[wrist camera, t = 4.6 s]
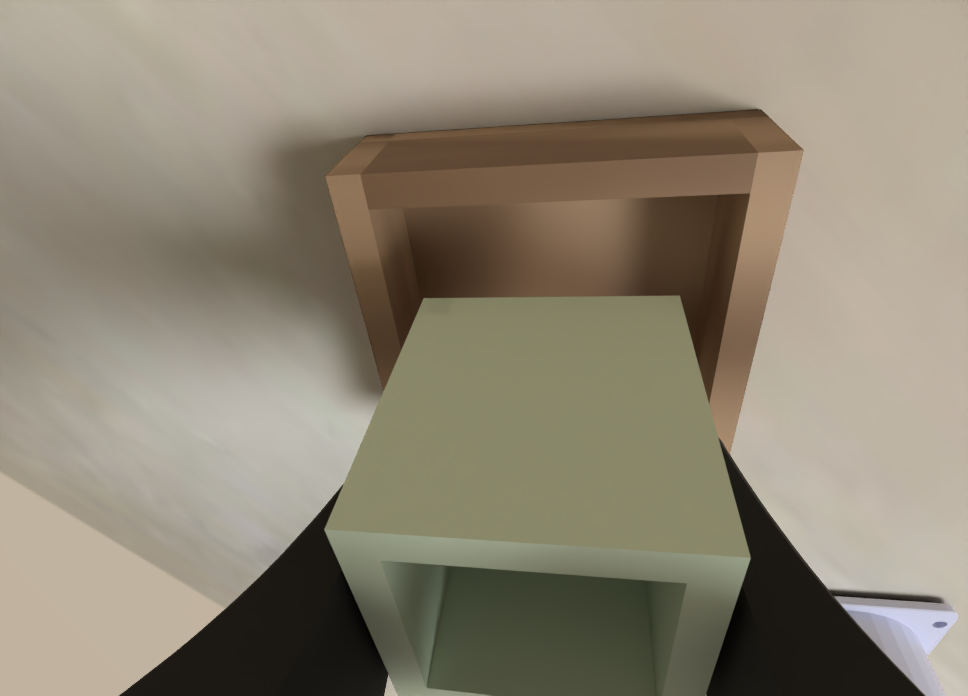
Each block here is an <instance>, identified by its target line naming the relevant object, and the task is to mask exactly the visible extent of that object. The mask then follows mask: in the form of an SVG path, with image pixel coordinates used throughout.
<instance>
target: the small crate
mask: <svg viewBox="0 0 968 696" xmlns="http://www.w3.org/2000/svg"><path fill="white" fill-rule="evenodd" d="M324 530H325V532H326V535H327V537H328V539H329V541H330V544H331V546H332V548H333V550H334V553H335V555H336V557H337V559H338V562H339V564H340V566H341V568H342V571H343V573H344V575H345V577H346V580H347V582H348V584H349V586H350V589H351V591H352V593H353V595H354V598H355V600H356V602H357V604H358V607H359V609H360V611H361V613H362V616H363V618H364V620H365V622H366V625H367V627H368V629H369V631H370V634H371V636H372V638H373V640H374V643H375V645H376V647H377V649H378V652H379V654H380V656H381V658H382V661H383V663H384V665H385V667H386V670H387V672H388V674H389V676H390V679H391V681H392V683H393V685H394V688H395V690H396V692H397V694H398V696H705V695H706V692H707V689H708V686H709V683H710V680H711V677H712V674H713V671H714V668H715V665H716V662H717V659H718V656H719V653H720V650H721V647H722V644H723V641H724V638H725V635H726V632H727V629H728V626H729V623H730V620H731V616H732V613H733V610H734V607H735V604H736V601H737V598H738V595H739V592H740V589H741V586H742V583H743V580H744V577H745V574H746V571H747V568H748V565H749V562H750V559H751V557H750V553H749V549H748V546H747V542H746V538H745V535H744V531H743V527H742V523H741V520H740V516H739V512H738V509H737V505H736V501H735V498H734V494H733V490H732V487H731V483H730V479H729V475H728V472H727V468H726V464H725V461H724V457H723V453H722V450H721V446H720V442H719V439H718V435H717V431H716V428H715V424H714V420H713V416H712V413H711V409H710V405H709V402H708V398H707V394H706V391H705V387H704V383H703V380H702V376H701V372H700V368H699V365H698V361H697V357H696V354H695V350H694V346H693V343H692V339H691V335H690V332H689V328H688V324H687V320H686V317H685V313H684V309H683V306H682V302H681V298H680V296H591V297H493V298H424V299H423V301H422V303H421V306H420V308H419V310H418V313H417V315H416V317H415V320H414V322H413V324H412V327H411V329H410V331H409V334H408V336H407V338H406V341H405V343H404V345H403V347H402V350H401V352H400V354H399V357H398V359H397V361H396V364H395V366H394V368H393V371H392V373H391V375H390V378H389V380H388V382H387V385H386V387H385V389H384V392H383V394H382V396H381V399H380V401H379V403H378V406H377V408H376V410H375V413H374V415H373V417H372V420H371V422H370V424H369V427H368V429H367V431H366V434H365V436H364V438H363V441H362V443H361V445H360V448H359V450H358V452H357V455H356V457H355V459H354V462H353V464H352V466H351V469H350V471H349V473H348V476H347V478H346V480H345V483H344V485H343V487H342V489H341V492H340V494H339V496H338V499H337V501H336V503H335V506H334V508H333V510H332V513H331V515H330V517H329V520H328V522H327V524H326V527H325V529H324Z"/></svg>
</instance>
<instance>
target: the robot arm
mask: <svg viewBox="0 0 968 696" xmlns="http://www.w3.org/2000/svg"><path fill="white" fill-rule="evenodd" d="M718 439H719V438H718ZM719 442H720V446H721V450H722V453H723V457H724V461H725V464H726V468H727V472H728V475H729V479H730V483H731V487H732V490H733V494H734V498H735V501H736V505H737V509H738V512H739V516H740V520H741V523H742V527H743V531H744V535H745V538H746V542H747V546H748V549H749V553H750V557H751V559H750V562H749V565H748V568H747V571H746V574H745V577H744V580H743V583H742V586H741V589H740V592H739V595H738V598H737V601H736V604H735V607H734V610H733V613H732V616H731V620H730V623H729V626H728V629H727V632H726V635H725V638H724V641H723V644H722V647H721V650H720V653H719V656H718V659H717V662H716V665H715V668H714V671H713V674H712V677H711V680H710V683H709V686H708V689H707V692H706V696H946V694H945V692H944V690H943V688H942V686H941V684H940V682H939V679H938V677H937V675H936V673H935V671H934V669H933V667H932V665H931V663H930V661H929V659H928V657H927V656H928V655H929V653H930V652H931V651H932V650H933V648H934V647H935V646H936V645H937V644H938V642H939V641H940V640H941V639H942V637H943V636H944V635H945V634H946V632H947V631H948V630H949V629H950V628H951V626H952V625H953V624H954V623H955V621H956V620H957V619H958V614H957V612H956V611H955V609H954V607H953V606H951V605H949V604H944V603H930V602H915V601H900V600H886V599H871V598H856V597H841V596H833V595H832V594H831V592H830V591H829V590H828V589H827V588H826V586H825V585H824V584H823V583H822V581H821V580H820V579H819V578H818V577H817V575H816V574H815V573H814V572H813V570H812V569H811V568H810V567H809V566H808V564H807V563H806V562H805V560H804V559H803V558H802V557H801V555H800V554H799V553H798V551H797V550H796V549H795V548H794V546H793V545H792V544H791V542H790V541H789V540H788V538H787V537H786V536H785V534H784V533H783V532H782V530H781V529H780V527H779V526H778V525H777V523H776V522H775V521H774V519H773V518H772V517H771V515H770V514H769V513H768V511H767V510H766V508H765V507H764V505H763V504H762V503H761V501H760V500H759V498H758V497H757V495H756V494H755V492H754V491H753V489H752V488H751V486H750V485H749V484H748V482H747V481H746V479H745V478H744V476H743V474H742V473H741V471H740V470H739V468H738V467H737V465H736V464H735V462H734V460H733V459H732V457H731V456H730V454H729V452H728V451H727V449H726V447H725V446H724V444H723V442H722V441H721V439H719ZM343 485H344V484H343ZM343 485H342V486H341V488H340V489H339V490H338V491H337V492H336V494H335V495H334V496H333V497H332V498H331V500H330V501H329V502H328V503H327V504H326V506H325V507H324V508H323V509H322V510H321V512H320V513H319V514H318V515H317V516H316V517H315V519H314V520H313V521H312V522H311V523H310V524H309V525H308V526H307V527H306V528H305V530H304V531H303V532H302V533H301V534H300V535H299V536H298V537H297V538H296V539H295V541H294V542H293V543H292V544H291V545H290V546H289V547H288V548H287V549H286V550H285V551H284V553H283V554H282V555H281V556H280V557H279V558H278V559H277V560H276V561H275V562H274V563H273V564H272V565H271V566H270V567H269V568H268V569H267V570H266V571H265V572H264V573H263V574H262V575H261V576H260V577H259V578H258V579H257V580H256V581H255V582H254V583H253V584H252V585H251V586H250V587H249V588H247V589H246V590H245V591H244V592H243V593H242V594H241V595H240V596H239V597H238V598H237V599H236V600H235V601H234V602H233V603H231V604H230V605H229V606H228V607H227V608H226V609H225V610H224V611H222V612H221V613H220V614H219V615H218V616H217V617H216V618H215V619H213V620H212V621H211V622H210V623H209V624H208V625H207V626H206V627H204V628H203V629H202V630H201V631H200V632H199V633H197V634H196V635H195V636H194V637H193V638H192V639H190V640H189V641H188V642H187V643H186V644H184V645H183V646H182V647H181V648H180V649H178V650H177V651H176V652H175V653H173V654H172V655H171V656H170V657H168V658H167V659H166V660H164V661H163V662H162V663H161V664H159V665H158V666H157V667H155V668H154V669H153V670H152V671H150V672H149V673H148V674H146V675H145V676H144V677H143V678H142V679H140V680H139V681H138V682H136V683H135V684H134V685H132V686H131V687H130V688H128V689H127V690H126V691H125V692H123V693H122V694H121V695H120V696H384V693H385V688H386V683H387V678H388V672H387V670H386V667H385V665H384V663H383V661H382V658H381V656H380V654H379V652H378V649H377V647H376V645H375V643H374V640H373V638H372V636H371V634H370V631H369V629H368V627H367V625H366V622H365V620H364V618H363V616H362V613H361V611H360V609H359V607H358V604H357V602H356V600H355V598H354V595H353V593H352V591H351V589H350V586H349V584H348V582H347V580H346V577H345V575H344V573H343V571H342V568H341V566H340V564H339V562H338V559H337V557H336V555H335V553H334V550H333V548H332V546H331V544H330V541H329V539H328V537H327V535H326V532H325V530H324V529H325V527H326V524H327V522H328V520H329V517H330V515H331V513H332V510H333V508H334V506H335V503H336V501H337V499H338V496H339V494H340V492H341V489H342V487H343Z"/></svg>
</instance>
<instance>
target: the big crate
mask: <svg viewBox="0 0 968 696" xmlns="http://www.w3.org/2000/svg"><path fill="white" fill-rule="evenodd" d="M803 152H804V150H803V149H802V148H801V147H800V146H799V145H798V144H797V143H796V142H795V141H794V140H792V139H791V138H790V137H789V136H788V135H787V134H786V133H785V132H784V131H783V130H782V129H781V128H780V127H779V126H778V125H777V124H776V123H775V122H774V121H773V120H772V119H771V118H769V117H768V116H767V115H766V114H765V113H764V112H763V111H762V110H746V111H731V112H716V113H701V114H686V115H671V116H655V117H640V118H625V119H610V120H595V121H580V122H565V123H549V124H534V125H519V126H504V127H489V128H474V129H459V130H443V131H428V132H413V133H398V134H383V135H368V136H366V137H365V138H364V139H363V140H362V141H360V142H359V143H358V144H357V145H356V146H355V147H354V148H353V149H352V150H351V151H350V152H349V153H348V154H347V155H346V156H345V157H344V158H343V159H342V160H341V161H340V162H339V163H338V164H337V165H336V166H335V167H334V168H333V169H332V170H331V171H330V172H329V173H328V174H327V175H326V176H325V178H326V181H327V185H328V189H329V192H330V196H331V200H332V203H333V207H334V211H335V214H336V218H337V222H338V225H339V229H340V233H341V236H342V240H343V244H344V247H345V251H346V255H347V258H348V262H349V266H350V269H351V273H352V277H353V280H354V284H355V288H356V291H357V295H358V299H359V302H360V306H361V310H362V313H363V317H364V321H365V324H366V328H367V332H368V335H369V339H370V343H371V346H372V350H373V354H374V357H375V361H376V365H377V368H378V372H379V376H380V379H381V383H382V387H383V390H384V389H385V387H386V385H387V382H388V380H389V378H390V375H391V373H392V371H393V368H394V366H395V364H396V361H397V359H398V357H399V354H400V352H401V350H402V347H403V345H404V343H405V341H406V338H407V336H408V334H409V331H410V329H411V327H412V324H413V322H414V320H415V317H416V315H417V313H418V310H419V308H420V306H421V303H422V301H423V299H424V298H493V297H591V296H680V298H681V302H682V306H683V309H684V313H685V317H686V320H687V324H688V328H689V332H690V335H691V339H692V343H693V346H694V350H695V354H696V357H697V361H698V365H699V368H700V372H701V376H702V380H703V383H704V387H705V391H706V394H707V398H708V402H709V405H710V409H711V413H712V416H713V420H714V424H715V428H716V431H717V435H718V438H719V439H721V441H722V442H723V444H724V446H725V447H726V449H727V451H728V452H729V454H730V451H731V447H732V443H733V439H734V435H735V431H736V426H737V422H738V418H739V414H740V410H741V406H742V402H743V398H744V394H745V390H746V385H747V381H748V377H749V373H750V369H751V365H752V361H753V357H754V353H755V348H756V344H757V340H758V336H759V332H760V328H761V324H762V320H763V316H764V312H765V307H766V303H767V299H768V295H769V291H770V287H771V283H772V279H773V275H774V271H775V266H776V262H777V258H778V254H779V250H780V246H781V242H782V238H783V234H784V229H785V225H786V221H787V217H788V213H789V209H790V205H791V201H792V197H793V193H794V188H795V184H796V180H797V176H798V172H799V168H800V164H801V160H802V156H803Z"/></svg>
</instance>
